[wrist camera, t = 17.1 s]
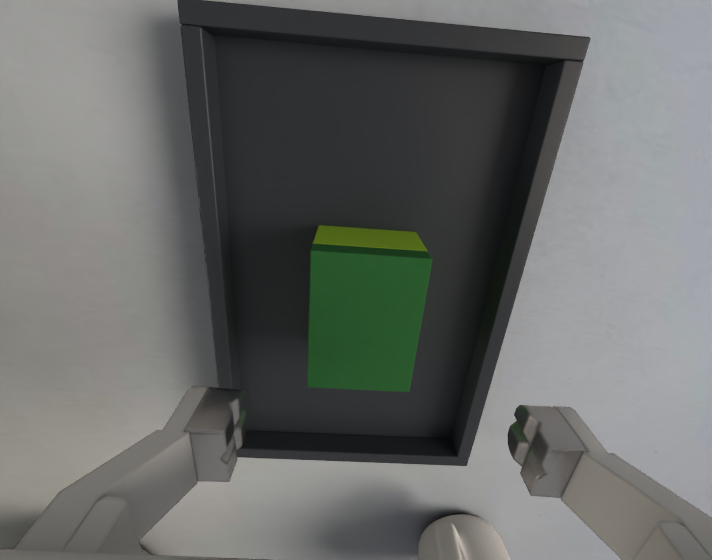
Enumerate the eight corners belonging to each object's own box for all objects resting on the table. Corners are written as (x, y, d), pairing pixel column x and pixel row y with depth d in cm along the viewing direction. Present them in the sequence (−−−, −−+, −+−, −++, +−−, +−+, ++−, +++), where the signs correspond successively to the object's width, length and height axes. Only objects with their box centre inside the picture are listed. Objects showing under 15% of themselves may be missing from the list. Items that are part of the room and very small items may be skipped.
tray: (199, 14, 15) (176, -3, 13) (561, 48, 15) (591, 36, 13) (235, 430, 24) (225, 457, 22) (458, 440, 25) (467, 466, 23)
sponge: (318, 224, 18) (310, 250, 14) (416, 231, 18) (433, 258, 14) (314, 341, 20) (306, 387, 17) (398, 345, 21) (409, 392, 17)
